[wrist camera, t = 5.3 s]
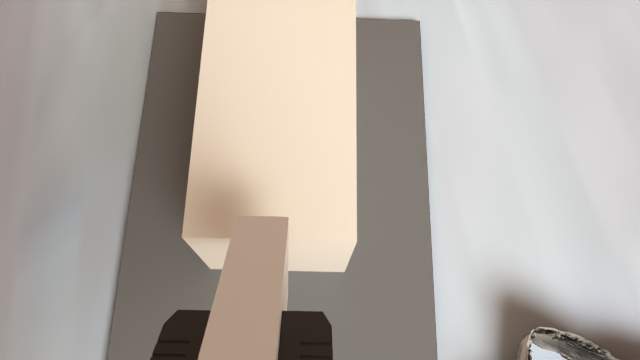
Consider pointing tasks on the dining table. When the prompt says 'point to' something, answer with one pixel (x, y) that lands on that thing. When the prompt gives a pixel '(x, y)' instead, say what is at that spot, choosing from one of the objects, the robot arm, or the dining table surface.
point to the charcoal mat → (303, 286)
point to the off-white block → (276, 129)
